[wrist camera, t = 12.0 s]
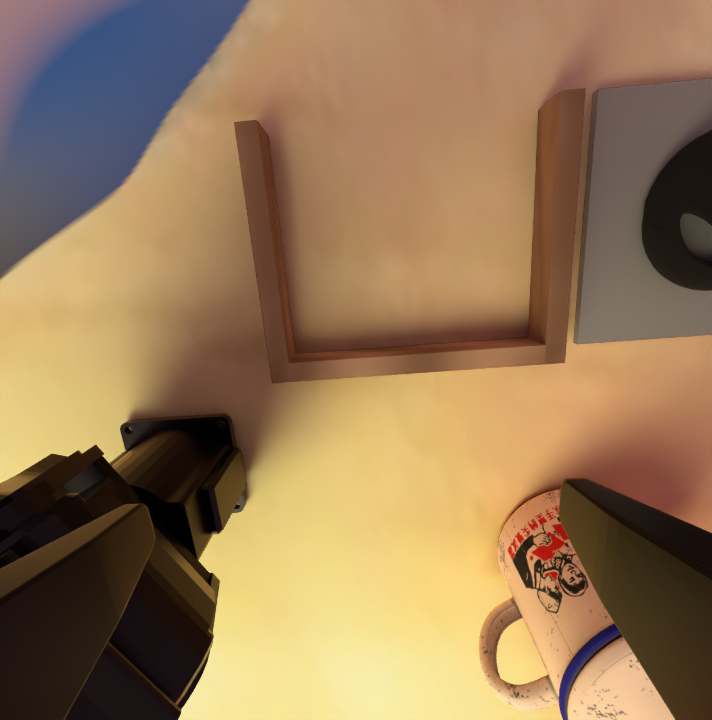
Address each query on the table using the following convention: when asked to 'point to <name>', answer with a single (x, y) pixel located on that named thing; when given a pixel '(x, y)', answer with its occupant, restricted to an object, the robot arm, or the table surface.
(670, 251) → the webcam
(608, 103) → the mat
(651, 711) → the teacup with lid
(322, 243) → the table surface
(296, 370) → the holder
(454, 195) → the table surface
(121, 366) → the table surface
